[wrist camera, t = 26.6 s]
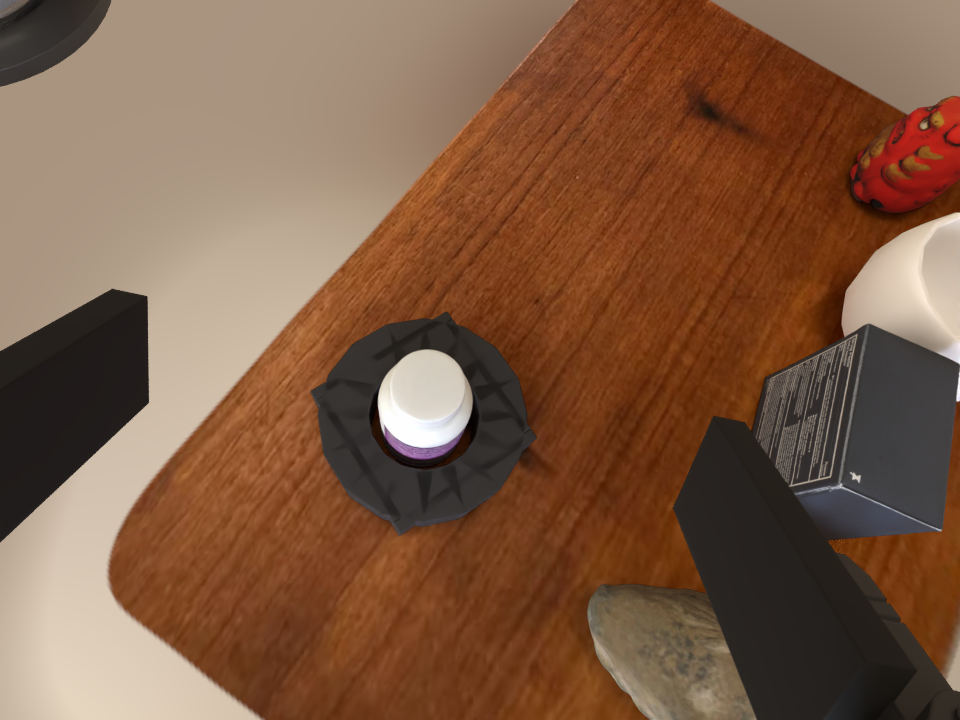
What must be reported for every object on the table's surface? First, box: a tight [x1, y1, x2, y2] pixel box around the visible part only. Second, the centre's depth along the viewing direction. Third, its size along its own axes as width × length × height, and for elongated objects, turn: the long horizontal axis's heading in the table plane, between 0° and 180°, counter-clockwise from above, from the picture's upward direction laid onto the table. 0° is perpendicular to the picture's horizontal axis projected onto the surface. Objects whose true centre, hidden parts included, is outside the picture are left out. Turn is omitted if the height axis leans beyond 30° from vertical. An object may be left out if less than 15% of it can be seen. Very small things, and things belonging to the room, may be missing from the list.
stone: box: [587, 584, 757, 720], centre depth 34 cm, size 17×9×8 cm, turn 66°
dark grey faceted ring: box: [311, 312, 537, 536], centre depth 39 cm, size 12×12×4 cm
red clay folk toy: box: [850, 96, 960, 213], centre depth 46 cm, size 8×7×15 cm
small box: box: [752, 324, 960, 540], centre depth 39 cm, size 11×6×10 cm, turn 158°
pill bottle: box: [378, 350, 473, 467], centre depth 36 cm, size 5×5×10 cm
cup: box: [842, 213, 960, 401], centre depth 43 cm, size 12×12×10 cm
